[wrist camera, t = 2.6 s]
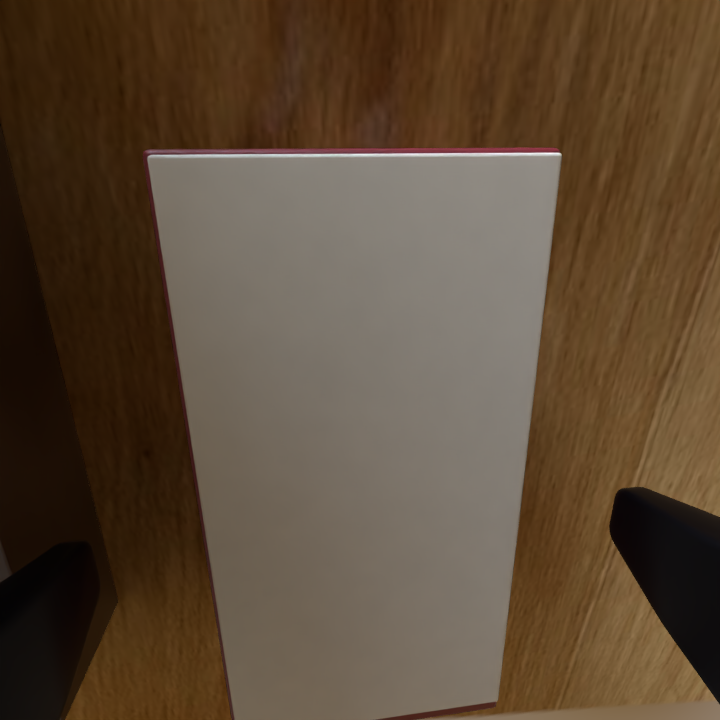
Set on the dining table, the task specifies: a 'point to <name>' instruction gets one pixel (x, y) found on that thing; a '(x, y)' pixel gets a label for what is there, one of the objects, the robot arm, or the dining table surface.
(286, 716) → the red white box
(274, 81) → the dining table surface
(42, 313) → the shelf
